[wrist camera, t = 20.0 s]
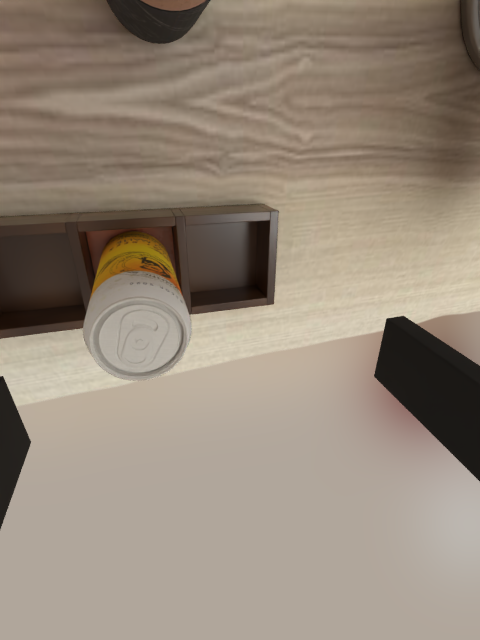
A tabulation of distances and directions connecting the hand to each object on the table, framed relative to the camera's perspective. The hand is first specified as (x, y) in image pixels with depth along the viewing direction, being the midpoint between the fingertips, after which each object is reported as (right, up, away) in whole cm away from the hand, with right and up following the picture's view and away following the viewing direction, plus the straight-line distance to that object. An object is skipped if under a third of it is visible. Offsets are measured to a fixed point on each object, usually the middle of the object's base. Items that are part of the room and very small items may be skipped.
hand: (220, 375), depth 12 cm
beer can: (-9, +8, +20) cm, 23 cm away
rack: (-9, +8, +20) cm, 24 cm away
